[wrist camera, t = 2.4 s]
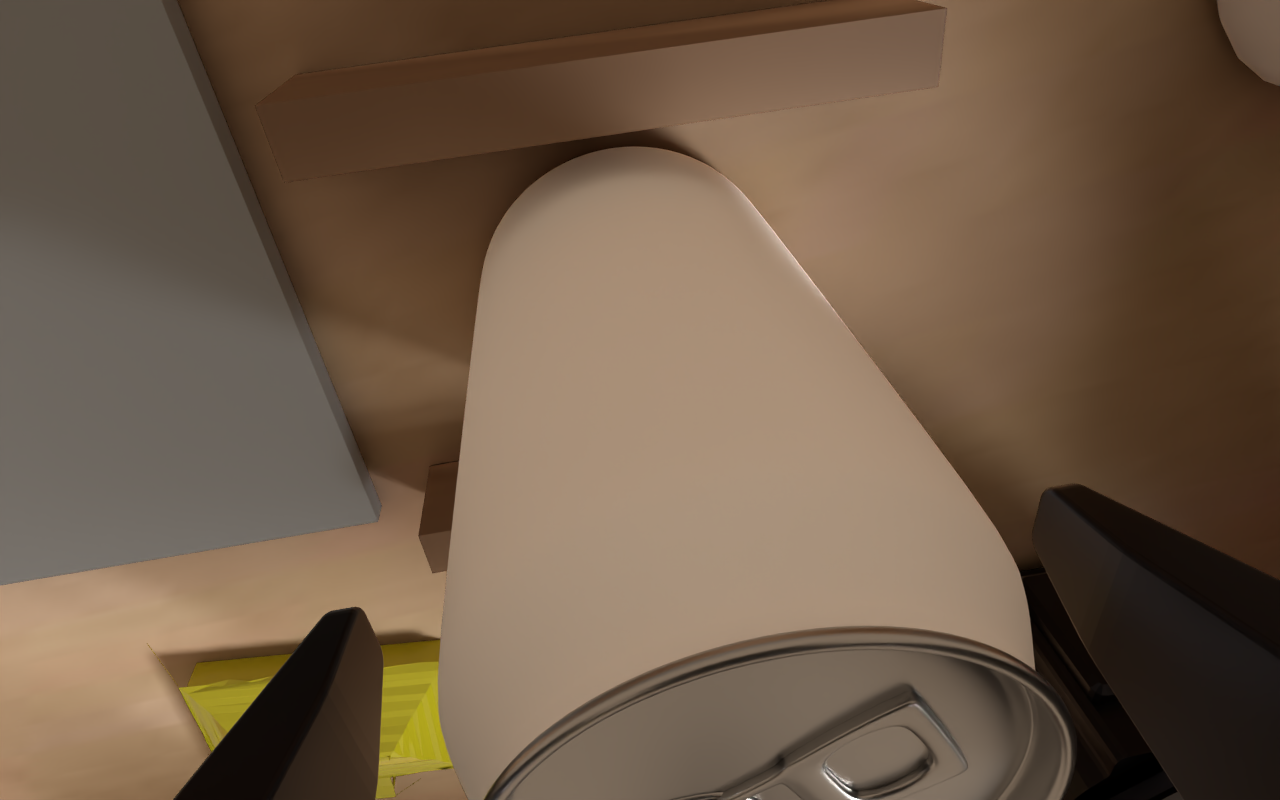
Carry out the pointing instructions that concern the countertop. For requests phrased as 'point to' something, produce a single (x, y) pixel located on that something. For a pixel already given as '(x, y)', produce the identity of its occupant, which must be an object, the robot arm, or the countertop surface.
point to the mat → (146, 312)
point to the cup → (1254, 34)
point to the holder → (593, 102)
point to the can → (713, 529)
